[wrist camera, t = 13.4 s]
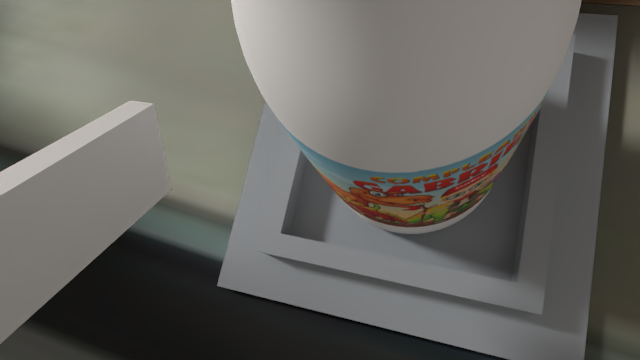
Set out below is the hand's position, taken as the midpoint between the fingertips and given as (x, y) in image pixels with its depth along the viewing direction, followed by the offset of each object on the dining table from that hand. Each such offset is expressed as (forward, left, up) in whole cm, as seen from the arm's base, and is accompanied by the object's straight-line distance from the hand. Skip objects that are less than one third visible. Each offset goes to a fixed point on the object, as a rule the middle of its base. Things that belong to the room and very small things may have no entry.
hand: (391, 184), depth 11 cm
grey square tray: (0, +4, -11) cm, 11 cm away
